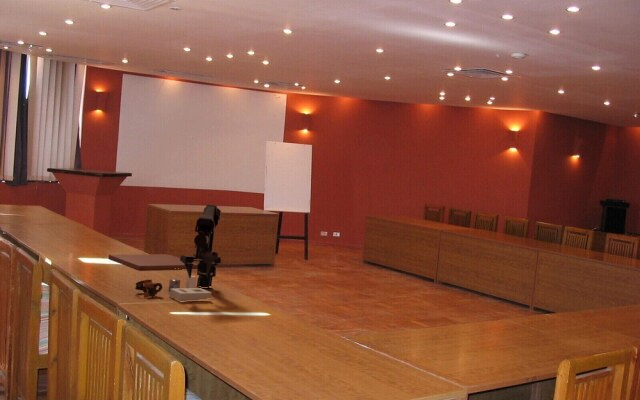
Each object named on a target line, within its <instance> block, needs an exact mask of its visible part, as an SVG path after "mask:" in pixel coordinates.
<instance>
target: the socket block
mask: <svg viewBox="0 0 640 400" xmlns="http://www.w3.org/2000/svg"><path fill="white" fill-rule="evenodd" d="M212 293H213V292H212V291H208V290H207V289H202V288H199V287H197V288H196V287H195V288H185V287H184V288H183V287H180V288H174V289H170V293H169V295H168V297H169V296H170V297H173V298H175V299H177V300H179V301H186V300H199V299H207V298H211V299H212ZM170 297H169V298H170Z"/></svg>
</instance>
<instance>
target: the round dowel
mask: <svg viewBox="0 0 640 400" xmlns="http://www.w3.org/2000/svg"><path fill="white" fill-rule="evenodd" d="M180 286H181V279H178V278H171V279H169V282H168V291H169V292H170V289H174V288H181V287H180ZM169 292H168V293H169Z"/></svg>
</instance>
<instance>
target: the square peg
mask: <svg viewBox="0 0 640 400" xmlns="http://www.w3.org/2000/svg"><path fill="white" fill-rule="evenodd" d="M196 283H197V276H195V275H191V278H189V276H188V275H186V281H185V287H184V288H196Z"/></svg>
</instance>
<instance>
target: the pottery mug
mask: <svg viewBox="0 0 640 400" xmlns="http://www.w3.org/2000/svg"><path fill="white" fill-rule="evenodd" d="M157 287H158V289H157ZM134 288H135V290H136V291H138V290H139V291H142V292H143V297H144V298H151V297H152V298H153V296H155V297H156V295H157V294H158V293H160V292H161V291H162V289H163V285H162V283H161V282H153V280H152V279H145V280H140V281H137V282H136V283H135V287H134Z"/></svg>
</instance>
